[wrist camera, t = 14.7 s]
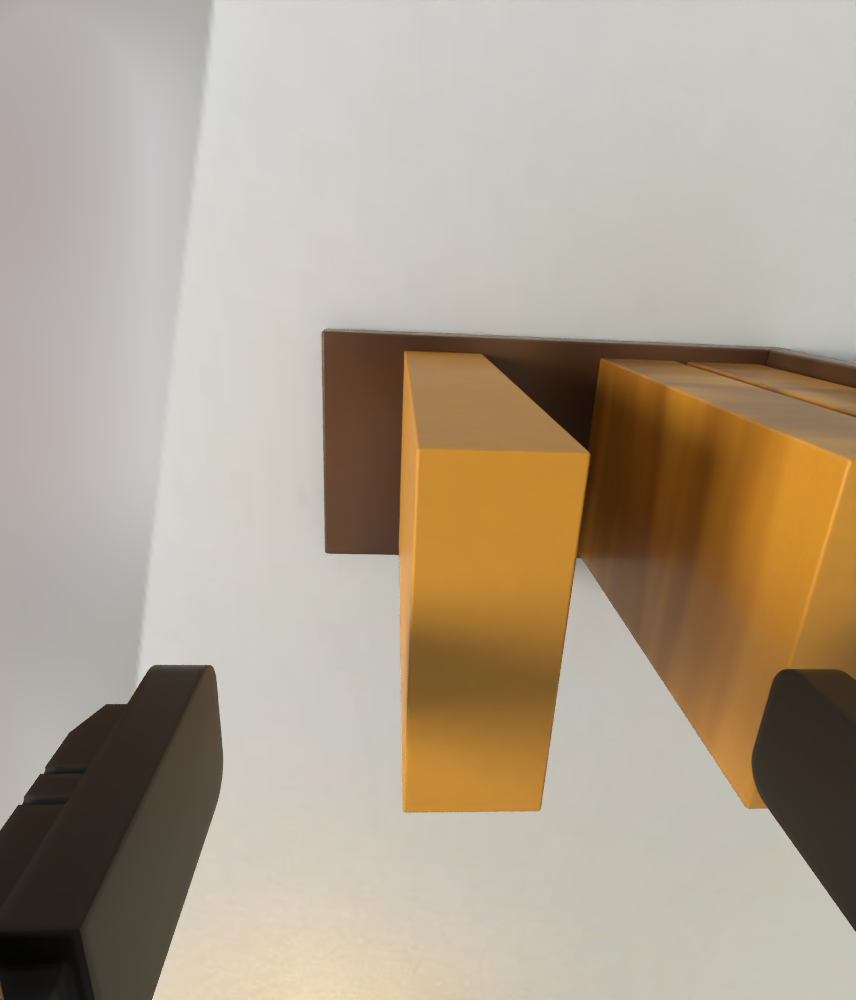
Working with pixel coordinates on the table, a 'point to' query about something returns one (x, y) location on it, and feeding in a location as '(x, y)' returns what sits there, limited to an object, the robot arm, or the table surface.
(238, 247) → the table surface
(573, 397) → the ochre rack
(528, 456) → the ochre book
